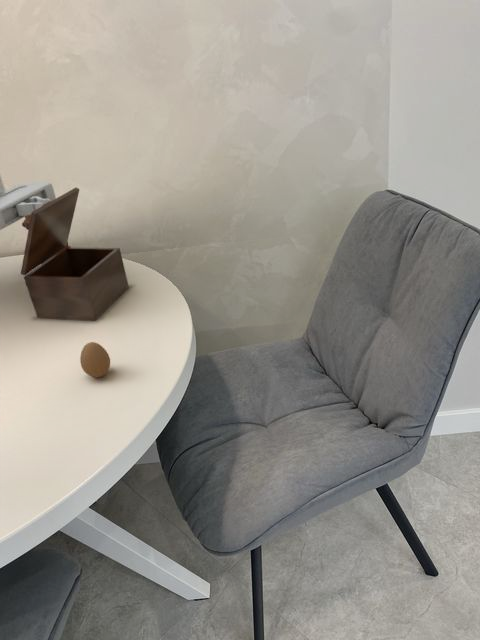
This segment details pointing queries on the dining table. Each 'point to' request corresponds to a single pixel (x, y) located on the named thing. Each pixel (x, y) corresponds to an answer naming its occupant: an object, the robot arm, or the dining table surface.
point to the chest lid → (49, 230)
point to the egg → (94, 360)
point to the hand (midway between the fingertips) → (47, 205)
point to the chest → (77, 283)
